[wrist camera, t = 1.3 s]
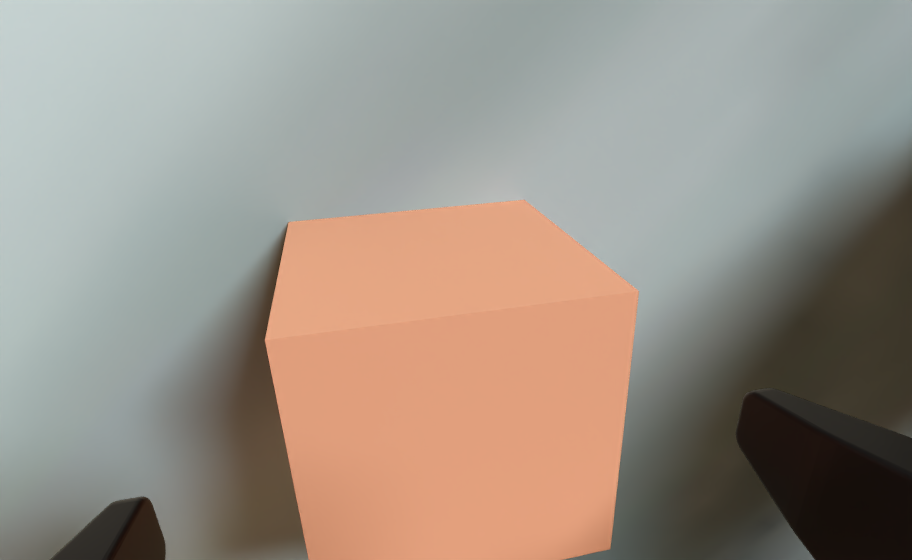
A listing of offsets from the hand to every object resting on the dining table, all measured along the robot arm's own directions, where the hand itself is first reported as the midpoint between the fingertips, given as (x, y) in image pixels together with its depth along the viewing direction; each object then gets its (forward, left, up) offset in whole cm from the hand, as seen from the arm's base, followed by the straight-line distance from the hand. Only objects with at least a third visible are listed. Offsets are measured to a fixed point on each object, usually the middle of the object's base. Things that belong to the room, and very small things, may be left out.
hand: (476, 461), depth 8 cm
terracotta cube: (0, 0, -5) cm, 5 cm away
